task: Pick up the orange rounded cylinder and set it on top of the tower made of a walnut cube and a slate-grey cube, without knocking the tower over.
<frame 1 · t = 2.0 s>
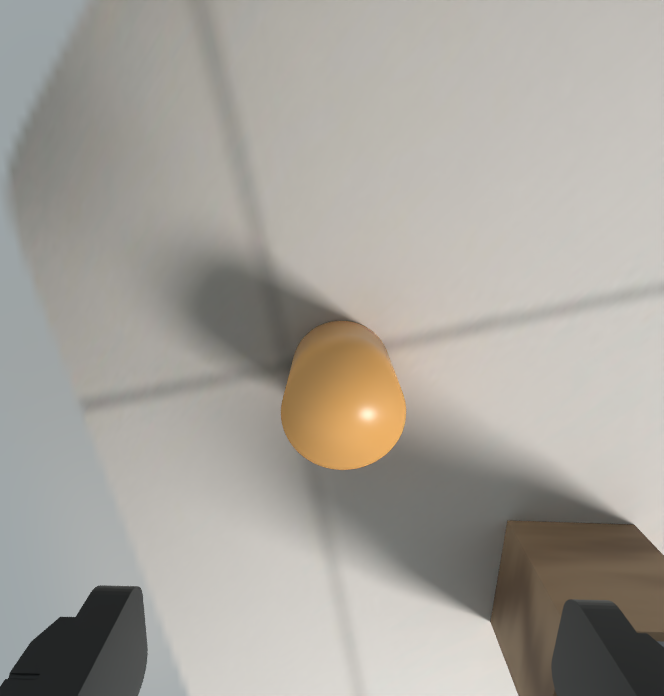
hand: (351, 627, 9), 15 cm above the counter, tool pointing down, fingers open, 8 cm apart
walnut base cube: (559, 574, 27), on the counter, touching grey top cube
orange rounded cylinder: (341, 367, 23), on the counter
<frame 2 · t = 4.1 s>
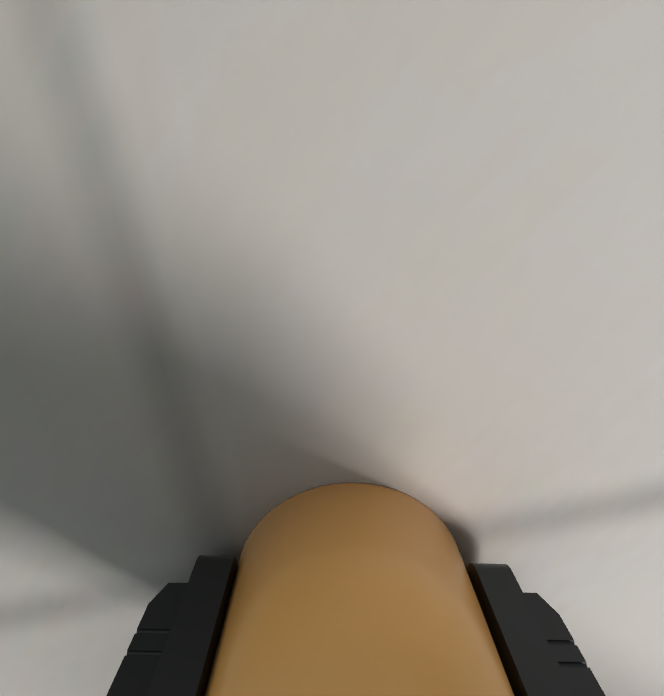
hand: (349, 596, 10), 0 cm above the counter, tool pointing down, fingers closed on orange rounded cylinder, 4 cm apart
orange rounded cylinder: (350, 581, 10), on the counter, touching gripper
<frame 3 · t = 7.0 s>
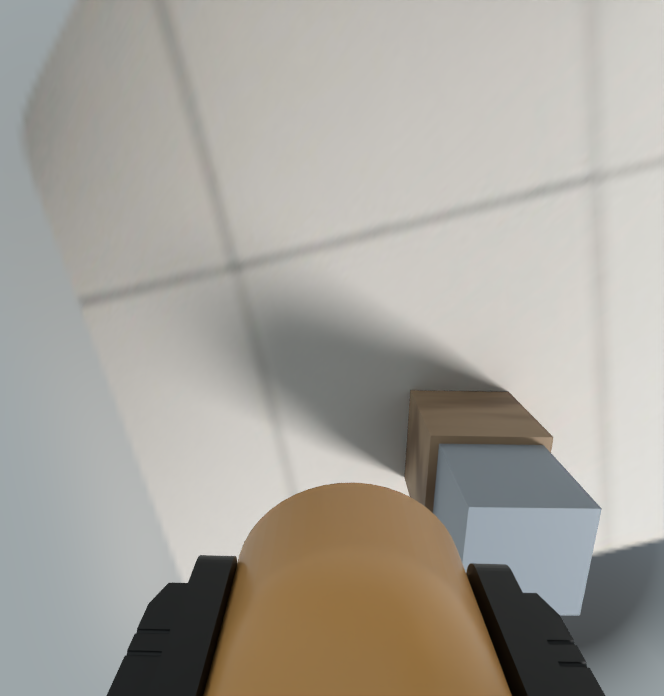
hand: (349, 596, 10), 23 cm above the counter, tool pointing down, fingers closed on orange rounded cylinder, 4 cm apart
grey top cube: (485, 490, 28), point 7 cm above the counter, touching walnut base cube
walnut base cube: (455, 435, 35), on the counter, touching grey top cube
orange rounded cylinder: (348, 581, 10), point 23 cm above the counter, touching gripper
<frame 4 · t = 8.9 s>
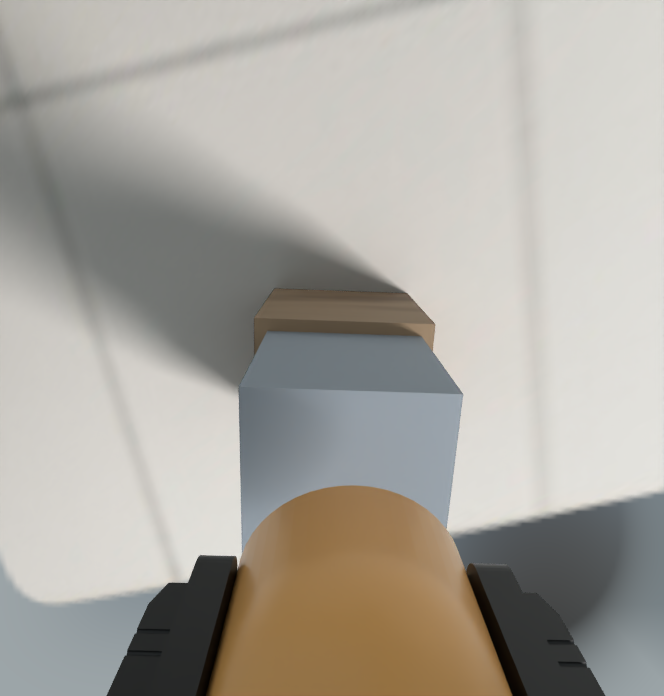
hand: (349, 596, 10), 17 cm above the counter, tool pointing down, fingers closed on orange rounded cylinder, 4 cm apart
grey top cube: (341, 404, 19), point 7 cm above the counter, touching walnut base cube
walnut base cube: (338, 354, 26), on the counter, touching grey top cube
orange rounded cylinder: (350, 583, 10), point 16 cm above the counter, touching gripper
when the fingers open (15 cm above the counter, at t = 10.1 s): orange rounded cylinder drops 1 cm, resting on grey top cube.
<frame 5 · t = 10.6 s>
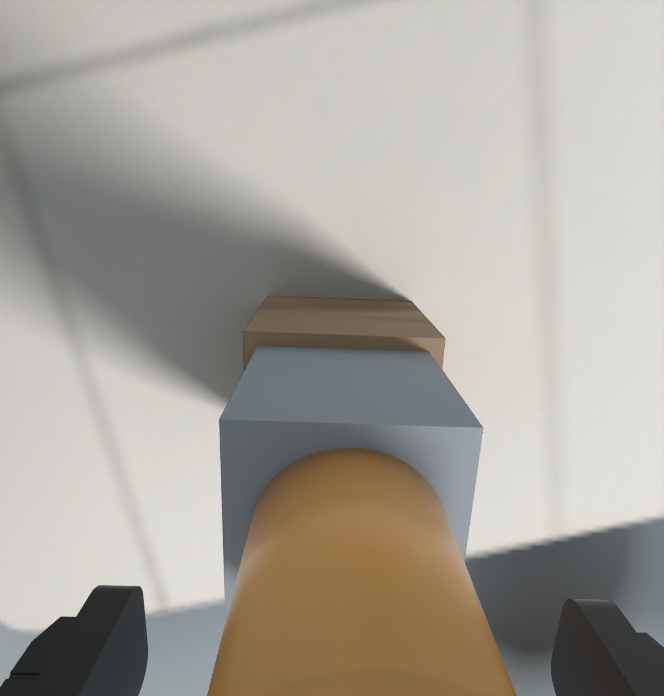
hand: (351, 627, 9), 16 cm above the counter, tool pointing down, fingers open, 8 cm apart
grey top cube: (340, 427, 17), point 7 cm above the counter, touching orange rounded cylinder, walnut base cube
walnut base cube: (336, 366, 24), on the counter, touching grey top cube
orange rounded cylinder: (348, 536, 12), point 13 cm above the counter, touching grey top cube
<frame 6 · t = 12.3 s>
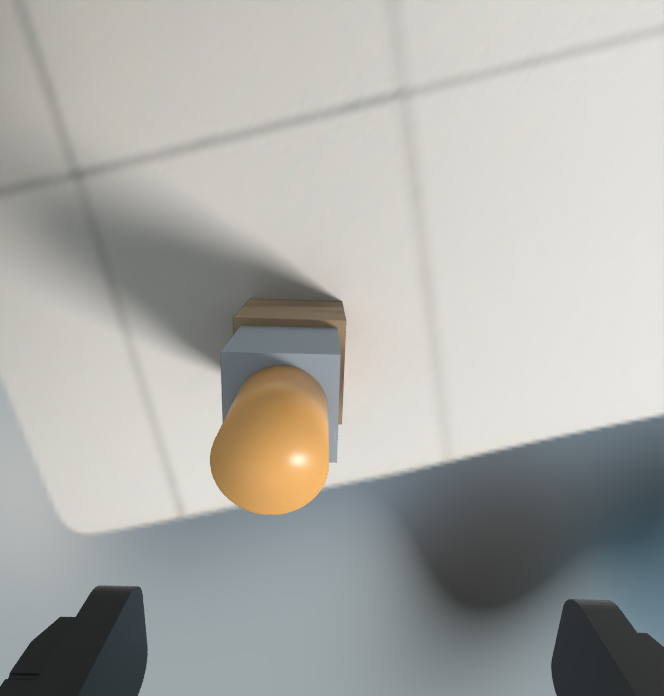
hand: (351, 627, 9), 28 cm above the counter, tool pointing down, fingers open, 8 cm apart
grey top cube: (289, 372, 30), point 7 cm above the counter, touching orange rounded cylinder, walnut base cube
walnut base cube: (295, 344, 37), on the counter, touching grey top cube
orange rounded cylinder: (281, 409, 24), point 13 cm above the counter, touching grey top cube
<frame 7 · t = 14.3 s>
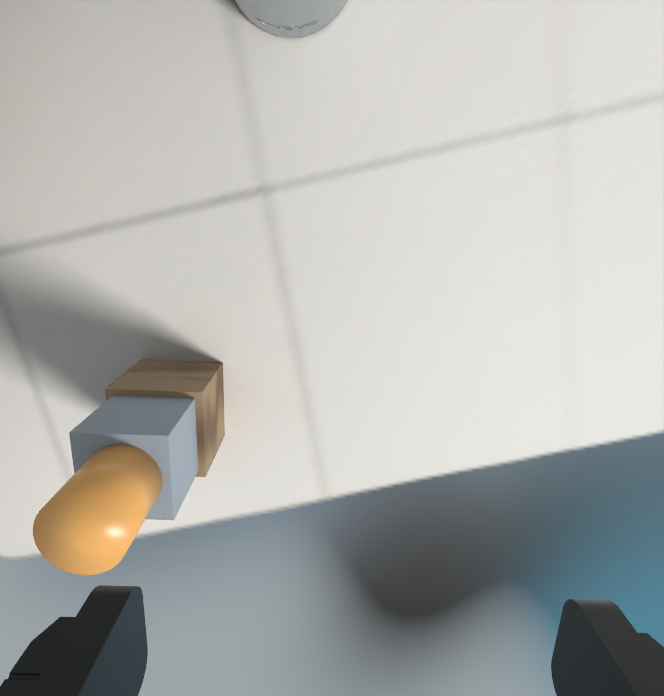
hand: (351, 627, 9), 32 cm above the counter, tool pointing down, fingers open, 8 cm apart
grey top cube: (156, 434, 35), point 7 cm above the counter, touching orange rounded cylinder, walnut base cube
walnut base cube: (184, 398, 42), on the counter, touching grey top cube
orange rounded cylinder: (124, 478, 30), point 13 cm above the counter, touching grey top cube
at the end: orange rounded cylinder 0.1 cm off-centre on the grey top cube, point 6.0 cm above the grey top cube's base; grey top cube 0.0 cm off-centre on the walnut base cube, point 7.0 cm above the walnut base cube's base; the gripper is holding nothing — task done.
